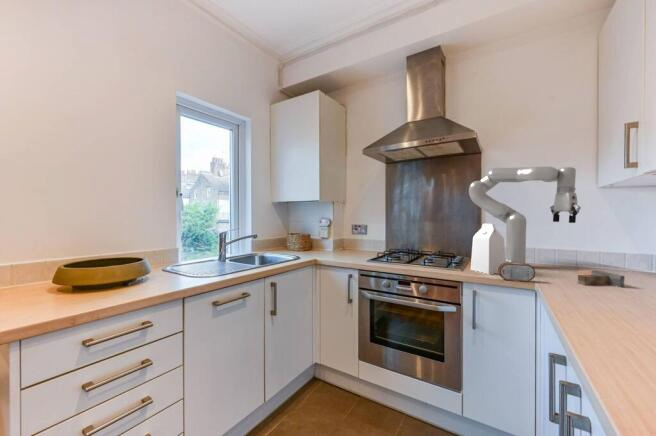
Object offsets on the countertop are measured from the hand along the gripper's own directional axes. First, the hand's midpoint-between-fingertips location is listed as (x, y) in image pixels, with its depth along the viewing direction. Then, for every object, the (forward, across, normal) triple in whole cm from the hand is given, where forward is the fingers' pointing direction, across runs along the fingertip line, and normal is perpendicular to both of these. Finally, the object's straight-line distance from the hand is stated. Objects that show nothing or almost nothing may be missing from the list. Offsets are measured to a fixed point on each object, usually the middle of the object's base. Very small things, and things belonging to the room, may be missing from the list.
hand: (563, 222), depth 153 cm
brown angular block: (+27, -27, +10) cm, 39 cm away
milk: (+28, +2, +41) cm, 49 cm away
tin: (+28, -18, +40) cm, 52 cm away
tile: (+26, -12, -4) cm, 29 cm away
